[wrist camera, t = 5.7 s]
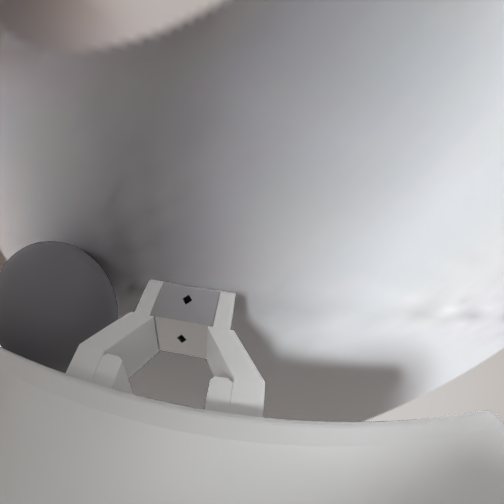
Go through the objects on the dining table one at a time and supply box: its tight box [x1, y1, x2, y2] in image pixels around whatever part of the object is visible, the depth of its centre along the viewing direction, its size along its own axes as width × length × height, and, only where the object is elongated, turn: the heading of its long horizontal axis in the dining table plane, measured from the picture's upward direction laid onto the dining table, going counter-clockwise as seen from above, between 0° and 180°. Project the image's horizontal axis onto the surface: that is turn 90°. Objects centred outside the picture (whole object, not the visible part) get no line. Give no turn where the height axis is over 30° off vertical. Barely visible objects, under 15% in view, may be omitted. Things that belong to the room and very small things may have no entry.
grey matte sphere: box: [0, 241, 118, 373], centre depth 11 cm, size 6×6×6 cm
